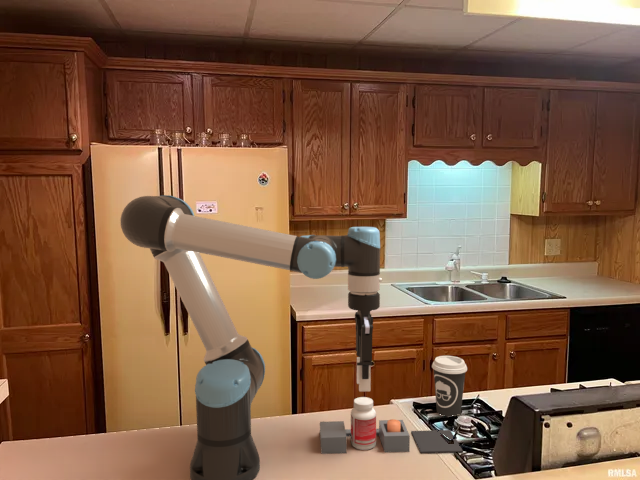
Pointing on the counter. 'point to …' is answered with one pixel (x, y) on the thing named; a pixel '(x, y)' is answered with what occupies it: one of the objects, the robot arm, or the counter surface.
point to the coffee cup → (449, 384)
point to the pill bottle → (363, 424)
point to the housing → (336, 433)
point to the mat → (435, 442)
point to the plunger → (393, 425)
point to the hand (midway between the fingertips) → (363, 386)
